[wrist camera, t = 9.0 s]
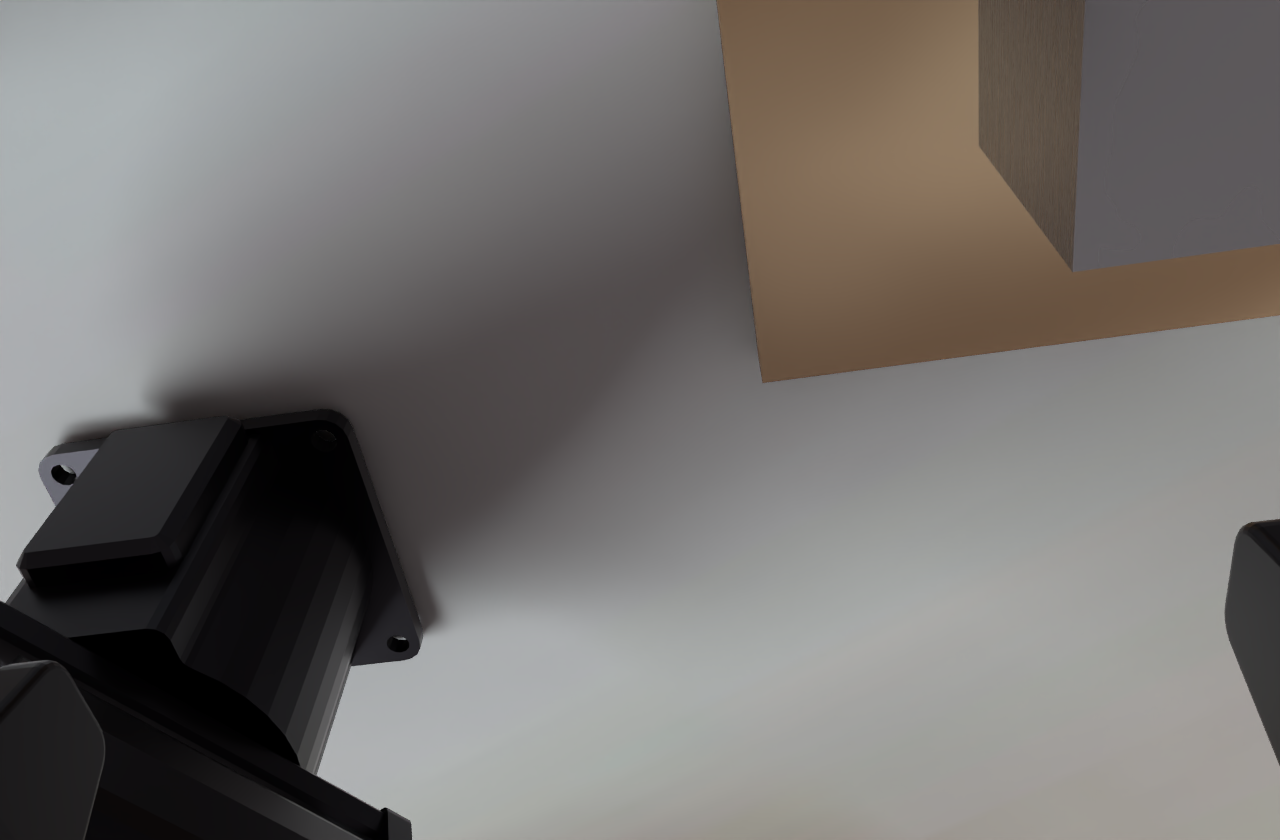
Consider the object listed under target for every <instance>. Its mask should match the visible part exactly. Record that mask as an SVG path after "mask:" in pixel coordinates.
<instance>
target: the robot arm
mask: <svg viewBox="0 0 1280 840" xmlns="http://www.w3.org/2000/svg"><path fill="white" fill-rule="evenodd" d="M319 430H324V431H328V432H330V433H332V434H333V435H334V437H335V438H336V440H333V441H329V440H325V439H323V438H321V437H320V436H319V435H318V433H317V432H316V431H319ZM60 465H66V466H68V467H70V468H72V470H73V471H74V472H75V473H76V474H71V473H69V472H67V471H65V470H64V469H63V468H62V467H61V466H60ZM39 474H40V477H41V479H42V481H43V483H44V485H45V487H46V489H47V491H48V493H49V494H50V496H51V498H52V500H53V502H54V504H55V506H56V507H55V509H54V510H53V511H52V513H51V514H50V515H49V517H48V518H47V519H46V521H45V522H44V523H43V525H42V526H41V527H40V529H39V530H38V531H37V533H36V534H35V535H34V537H33V538H32V540H31V541H30V542H29V544H28V545H27V546H26V548H25V549H24V550H23V552H22V554H21V556H20V558H19V559H18V562H17V564H16V566H17V568H18V570H19V571H20V573H21V575H22V577H23V579H22V581H21V582H20V583H19V585H18V586H17V588H16V589H15V590H14V592H13V593H12V594H11V596H10V597H9V599H8V600H7V601H6V603H4V602H2V601H0V840H412V829H411V822H410V820H408V819H406V818H404V817H402V816H401V815H399V814H397V813H395V812H393V811H392V810H390V809H388V808H383V809H381V810H378V809H376V808H374V807H373V806H371V805H369V804H367V803H365V802H364V801H362V800H360V799H358V798H356V797H355V796H353V795H351V794H349V793H347V792H346V791H344V790H342V789H340V788H338V787H336V786H335V785H333V784H331V783H329V782H327V781H326V780H324V779H322V778H320V777H318V776H317V772H318V769H319V766H320V762H321V759H322V756H323V753H324V750H325V747H326V743H327V740H328V737H329V734H330V731H331V728H332V725H333V721H334V718H335V715H336V712H337V709H338V706H339V702H340V699H341V696H342V693H343V690H344V687H345V683H346V680H347V677H348V674H349V671H350V668H351V666H357V665H366V664H375V663H384V662H393V661H402V660H407V659H410V658H412V657H414V656H415V655H416V654H418V651H419V649H420V647H421V643H422V639H423V629H422V626H421V623H420V620H419V617H418V614H417V611H416V609H415V606H414V603H413V600H412V597H411V594H410V591H409V588H408V585H407V583H406V580H405V577H404V574H403V571H402V568H401V565H400V562H399V560H398V557H397V554H396V551H395V548H394V545H393V542H392V539H391V536H390V534H389V531H388V528H387V525H386V522H385V519H384V516H383V513H382V510H381V508H380V505H379V502H378V499H377V496H376V493H375V490H374V487H373V484H372V482H371V479H370V476H369V473H368V470H367V467H366V464H365V461H364V459H363V456H362V453H361V450H360V447H359V444H358V441H357V438H356V435H355V433H354V430H353V427H352V425H351V424H350V422H349V420H348V419H347V418H346V417H345V416H343V415H342V414H341V413H339V412H336V411H333V410H326V409H320V410H312V411H305V412H297V413H290V414H282V415H275V416H267V417H260V418H252V419H245V420H238V419H236V418H232V417H229V416H220V417H213V418H205V419H198V420H190V421H183V422H175V423H168V424H161V425H153V426H146V427H138V428H131V429H123V430H117V431H114V432H112V433H111V434H110V435H109V437H108V438H103V439H95V440H88V441H80V442H73V443H65V444H60V445H58V446H55V447H53V448H52V449H51V450H50V451H49V453H48V454H47V455H46V456H45V457H44V459H43V460H42V461H41V462H40V465H39ZM1225 624H1226V630H1227V634H1228V638H1229V641H1230V644H1231V646H1232V649H1233V651H1234V654H1235V656H1236V659H1237V661H1238V664H1239V666H1240V669H1241V671H1242V674H1243V676H1244V679H1245V681H1246V683H1247V686H1248V688H1249V691H1250V693H1251V696H1252V698H1253V701H1254V703H1255V706H1256V708H1257V711H1258V713H1259V716H1260V718H1261V721H1262V723H1263V726H1264V728H1265V731H1266V733H1267V736H1268V738H1269V741H1270V743H1271V746H1272V748H1273V751H1274V753H1275V756H1276V758H1277V760H1278V763H1279V765H1280V519H1276V520H1267V521H1258V522H1251V523H1248V524H1246V525H1244V526H1243V527H1242V528H1241V529H1240V530H1239V532H1238V534H1237V536H1236V540H1235V544H1234V550H1233V557H1232V564H1231V570H1230V577H1229V583H1228V590H1227V597H1226V603H1225ZM393 636H402V637H404V638H406V640H398V639H396V638H394V637H393Z"/></svg>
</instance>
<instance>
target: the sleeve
mask: <svg viewBox="0 0 1280 840" xmlns="http://www.w3.org/2000/svg"><path fill="white" fill-rule="evenodd" d="M978 79H979V147H980V148H981V150H982V151H983V152H984V154H985V155H986V156H987V158H988V159H989V160H990V162H991V163H992V164H993V166H994V167H995V168H996V170H997V171H998V172H999V174H1000V175H1001V177H1002V178H1003V179H1004V181H1005V182H1006V183H1007V185H1008V186H1009V187H1010V189H1011V190H1012V191H1013V193H1014V194H1015V195H1016V197H1017V198H1018V199H1019V201H1020V202H1021V203H1022V205H1023V206H1024V207H1025V209H1026V210H1027V212H1028V213H1029V214H1030V216H1031V217H1032V218H1033V220H1034V221H1035V222H1036V224H1037V225H1038V226H1039V228H1040V229H1041V230H1042V232H1043V233H1044V234H1045V236H1046V237H1047V238H1048V240H1049V241H1050V242H1051V244H1052V245H1053V247H1054V248H1055V249H1056V251H1057V252H1058V253H1059V255H1060V256H1061V257H1062V259H1063V260H1064V261H1065V263H1066V264H1067V265H1068V267H1069V268H1070V269H1071V271H1072V272H1077V271H1085V270H1092V269H1099V268H1107V267H1114V266H1121V265H1129V264H1136V263H1143V262H1151V261H1158V260H1165V259H1173V258H1180V257H1187V256H1195V255H1202V254H1209V253H1217V252H1224V251H1231V250H1238V249H1246V248H1253V247H1260V246H1268V245H1275V244H1280V0H978Z"/></svg>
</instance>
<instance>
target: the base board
mask: <svg viewBox="0 0 1280 840" xmlns="http://www.w3.org/2000/svg"><path fill="white" fill-rule="evenodd" d="M716 1H717V10H718V18H719V27H720V35H721V44H722V52H723V61H724V69H725V77H726V86H727V94H728V103H729V111H730V120H731V128H732V137H733V145H734V154H735V162H736V171H737V179H738V187H739V196H740V204H741V213H742V221H743V230H744V238H745V247H746V255H747V264H748V272H749V280H750V289H751V297H752V306H753V314H754V323H755V331H756V340H757V348H758V357H759V363H760V369H761V375H762V381H763V383H766V382H773V381H781V380H789V379H796V378H804V377H811V376H819V375H827V374H834V373H842V372H850V371H857V370H865V369H872V368H880V367H888V366H895V365H903V364H911V363H918V362H926V361H933V360H941V359H949V358H956V357H964V356H972V355H979V354H987V353H995V352H1002V351H1010V350H1017V349H1025V348H1033V347H1040V346H1048V345H1056V344H1063V343H1071V342H1078V341H1086V340H1094V339H1101V338H1109V337H1117V336H1124V335H1132V334H1139V333H1147V332H1155V331H1162V330H1170V329H1178V328H1185V327H1193V326H1201V325H1208V324H1216V323H1223V322H1231V321H1239V320H1246V319H1254V318H1262V317H1269V316H1277V315H1280V244H1275V245H1268V246H1260V247H1253V248H1246V249H1238V250H1231V251H1224V252H1217V253H1209V254H1202V255H1195V256H1187V257H1180V258H1173V259H1165V260H1158V261H1151V262H1143V263H1136V264H1129V265H1121V266H1114V267H1107V268H1099V269H1092V270H1085V271H1077V272H1072V271H1071V269H1070V268H1069V267H1068V265H1067V264H1066V263H1065V261H1064V260H1063V259H1062V257H1061V256H1060V255H1059V253H1058V252H1057V251H1056V249H1055V248H1054V247H1053V245H1052V244H1051V242H1050V241H1049V240H1048V238H1047V237H1046V236H1045V234H1044V233H1043V232H1042V230H1041V229H1040V228H1039V226H1038V225H1037V224H1036V222H1035V221H1034V220H1033V218H1032V217H1031V216H1030V214H1029V213H1028V212H1027V210H1026V209H1025V207H1024V206H1023V205H1022V203H1021V202H1020V201H1019V199H1018V198H1017V197H1016V195H1015V194H1014V193H1013V191H1012V190H1011V189H1010V187H1009V186H1008V185H1007V183H1006V182H1005V181H1004V179H1003V178H1002V177H1001V175H1000V174H999V172H998V171H997V170H996V168H995V167H994V166H993V164H992V163H991V162H990V160H989V159H988V158H987V156H986V155H985V154H984V152H983V151H982V150H981V148H980V147H979V79H978V0H716Z"/></svg>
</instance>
